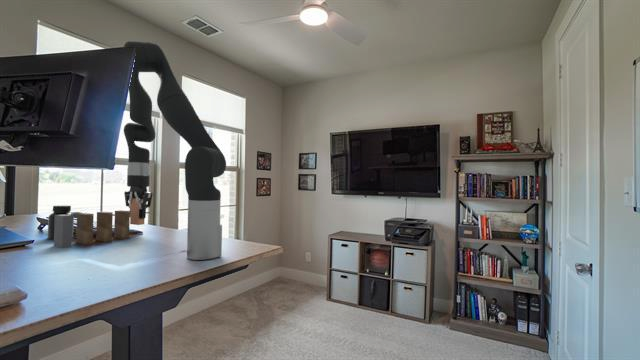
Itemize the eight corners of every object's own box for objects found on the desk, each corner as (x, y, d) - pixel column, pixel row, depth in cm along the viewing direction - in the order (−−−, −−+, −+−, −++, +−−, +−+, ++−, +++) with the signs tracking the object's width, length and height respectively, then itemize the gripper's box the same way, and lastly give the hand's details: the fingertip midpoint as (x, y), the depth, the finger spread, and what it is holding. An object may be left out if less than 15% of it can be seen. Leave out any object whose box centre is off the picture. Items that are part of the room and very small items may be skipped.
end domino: (63, 245, 95) (63, 214, 95) (71, 247, 93) (72, 215, 93) (53, 246, 93) (54, 215, 93) (62, 248, 91) (63, 216, 91)
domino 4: (136, 223, 116) (136, 198, 117) (144, 224, 114) (145, 198, 114) (130, 224, 114) (130, 198, 114) (138, 225, 112) (139, 198, 112)
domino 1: (84, 242, 100) (85, 212, 100) (92, 243, 98) (93, 213, 98) (76, 243, 98) (76, 213, 98) (84, 245, 96) (85, 214, 96)
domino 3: (120, 236, 111) (121, 210, 111) (129, 237, 109) (129, 211, 109) (114, 237, 109) (114, 210, 109) (122, 239, 107) (123, 211, 107)
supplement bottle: (62, 241, 101) (63, 206, 101) (41, 241, 100) (42, 206, 101) (78, 238, 107) (79, 205, 108) (59, 237, 107) (60, 204, 107)
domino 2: (103, 239, 106) (104, 211, 106) (111, 240, 104) (112, 212, 104) (96, 240, 104) (96, 212, 104) (104, 241, 101) (105, 212, 102)
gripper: (117, 174, 114) (116, 217, 114) (141, 174, 108) (140, 220, 108) (136, 174, 121) (135, 216, 121) (159, 175, 115) (158, 218, 115)
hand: (137, 217), depth 114 cm, fingers closed on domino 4, 5 cm apart
